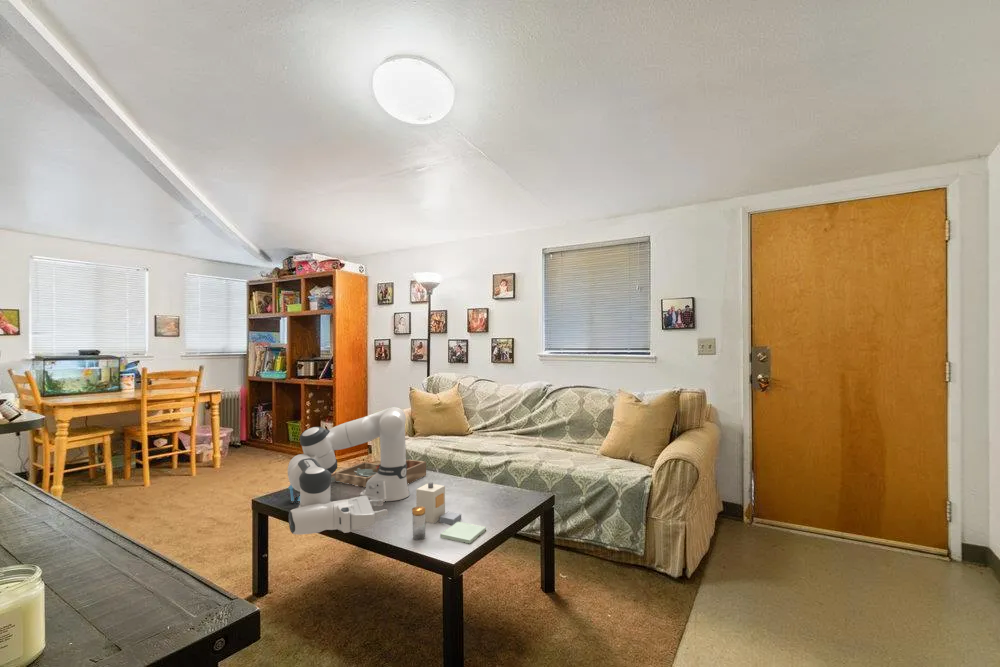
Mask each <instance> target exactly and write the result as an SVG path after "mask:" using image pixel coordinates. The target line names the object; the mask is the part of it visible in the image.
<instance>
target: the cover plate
mask: <svg viewBox="0 0 1000 667" xmlns="http://www.w3.org/2000/svg"><path fill="white" fill-rule="evenodd" d="M461 521H462V513H460V512H459V513H458V512H455V511H454V512H453V511H448V510H447V511H445V514H443V515H442V516H440V520H439V523H440V524H445V525H450V526H452V525H454V524H455V523H457V522H461Z"/></svg>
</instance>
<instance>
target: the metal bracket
mask: <svg viewBox="0 0 1000 667" xmlns="http://www.w3.org/2000/svg"><path fill="white" fill-rule="evenodd" d="M354 472H356V473H357V475H355V476H361V477H370V476H372V475H375V474H376V473H377V472H373V470H372V469H362V470H361V469H359V468H358V469H357V471H354Z"/></svg>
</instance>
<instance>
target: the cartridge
mask: <svg viewBox="0 0 1000 667" xmlns="http://www.w3.org/2000/svg"><path fill="white" fill-rule="evenodd" d="M411 512H412V513H411V514H412V539H413V540H417V541H419V540H424V539H425V538H426V522H425V507H422V506H418V507H416V506H414V507H413V508H412V509H411Z"/></svg>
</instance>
